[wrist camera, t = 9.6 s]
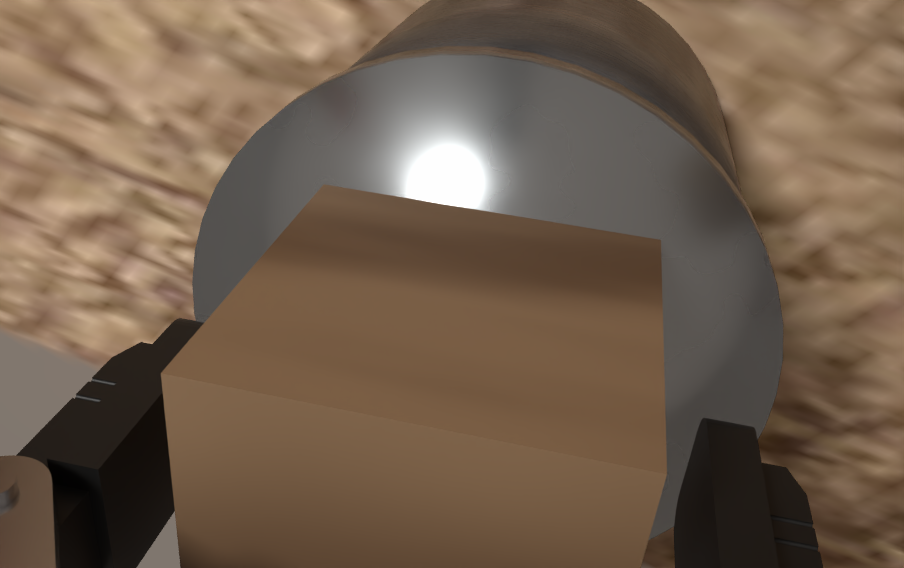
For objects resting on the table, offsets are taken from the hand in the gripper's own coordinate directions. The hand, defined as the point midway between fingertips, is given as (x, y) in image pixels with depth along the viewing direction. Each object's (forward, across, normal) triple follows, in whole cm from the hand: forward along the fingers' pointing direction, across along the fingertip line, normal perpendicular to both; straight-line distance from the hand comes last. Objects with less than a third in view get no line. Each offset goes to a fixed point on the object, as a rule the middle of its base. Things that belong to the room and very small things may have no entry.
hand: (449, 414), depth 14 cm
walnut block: (+2, 0, 0) cm, 2 cm away
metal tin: (+11, 0, 0) cm, 11 cm away
